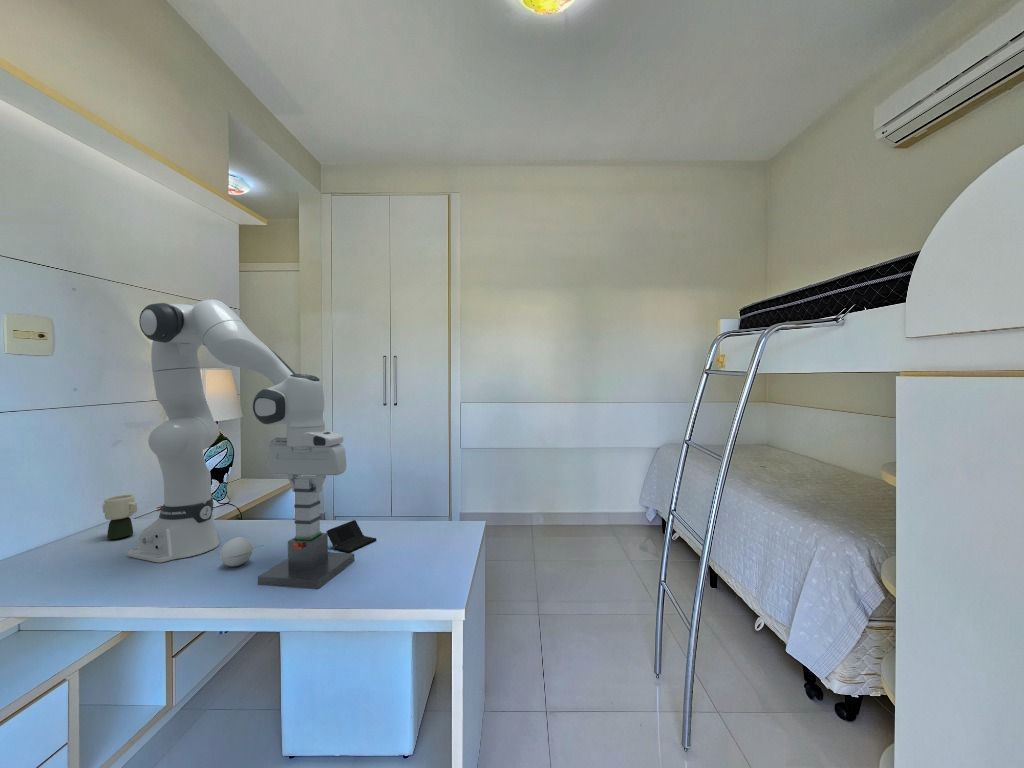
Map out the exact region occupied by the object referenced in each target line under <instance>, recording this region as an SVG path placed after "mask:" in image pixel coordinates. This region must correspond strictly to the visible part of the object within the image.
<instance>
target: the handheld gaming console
mask: <svg viewBox="0 0 1024 768" xmlns="http://www.w3.org/2000/svg"><path fill="white" fill-rule="evenodd" d="M325 533H328V540H329V541H330V543H331V545H332V546H333V552H334V551H336V552H338V553H354V552H356V551H358V550H360V549H363V548H364V547H366V546H368V545H371V544H372V543H375V542H377V538H376V537H371V536H366V535H365V534H364V533H363V532H362V530H361V528H360V526H359V524H358V522H357V521H356V519H353V520H350V521H348V522H346V523H343V524H340V525H337V526H335V527H333V528H330V529H328V530H326V532H325Z"/></svg>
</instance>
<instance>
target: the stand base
mask: <svg viewBox="0 0 1024 768" xmlns="http://www.w3.org/2000/svg"><path fill="white" fill-rule="evenodd" d="M328 540H329V537H328V533H326V532H321V535H320V536H319V537H317V538H315V539H314V540H312V541H300V540H295V537H293V538H291V539H290V540H288V541H287V558H286V559H284V560H283V561H281V562H279V563H278V564H276V565H274V566H273V567H271V568H269V569H267V570H266V571H264V572H262V573H261V574H260V575H258V576H257V585H258V586H269V587H283V588H285V587H286V588H299V589H311V590H312V589H313V590H319V589H321V588H322V587H323V586H324V585H325V584H327V583H328V582H329V581H330V580H332V579H334V578H335V577H336V576H337V575H338V574H340V573H341V572H342V571H344V570H345V569H346V568H348V566H350V565H351V564H353V563H354V562H355V553H354V552H352V553H344V552H334V551H333V552H330V551H329V544H328V543H329V541H328Z"/></svg>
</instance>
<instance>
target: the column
mask: <svg viewBox="0 0 1024 768" xmlns="http://www.w3.org/2000/svg"><path fill="white" fill-rule="evenodd" d="M317 481H318V479H316V475H303V476H298V477H296V479H295V489H294V492H293V493H294V495H295V496H294V499H295V500H294V508H293V509H295V516H294V517H295V520H294V524H295V536H294V538H295V540H300V541H312V540H314V539H315V538H317V537H319V536H320V535H321V533H322V531H321V523H320V522H321V513H320V511H321V510H320V505H321V499H320V492H319V493H315V492H313V486H314V485H316V483H317Z"/></svg>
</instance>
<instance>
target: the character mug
mask: <svg viewBox="0 0 1024 768" xmlns="http://www.w3.org/2000/svg"><path fill="white" fill-rule="evenodd" d="M137 512H138V504H137V502H135V495H134V494H121V495H113V496H109V497H106V498H104V503H102V513H104V518H105V520H107V521H108V520H109V523H108V528H107V536H106V538H107V540H117V539H122V538H127V537H128V536H132V535H134V527H133V524H132V519H131V517H130V516H133V515H134V514H135V513H137Z"/></svg>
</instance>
